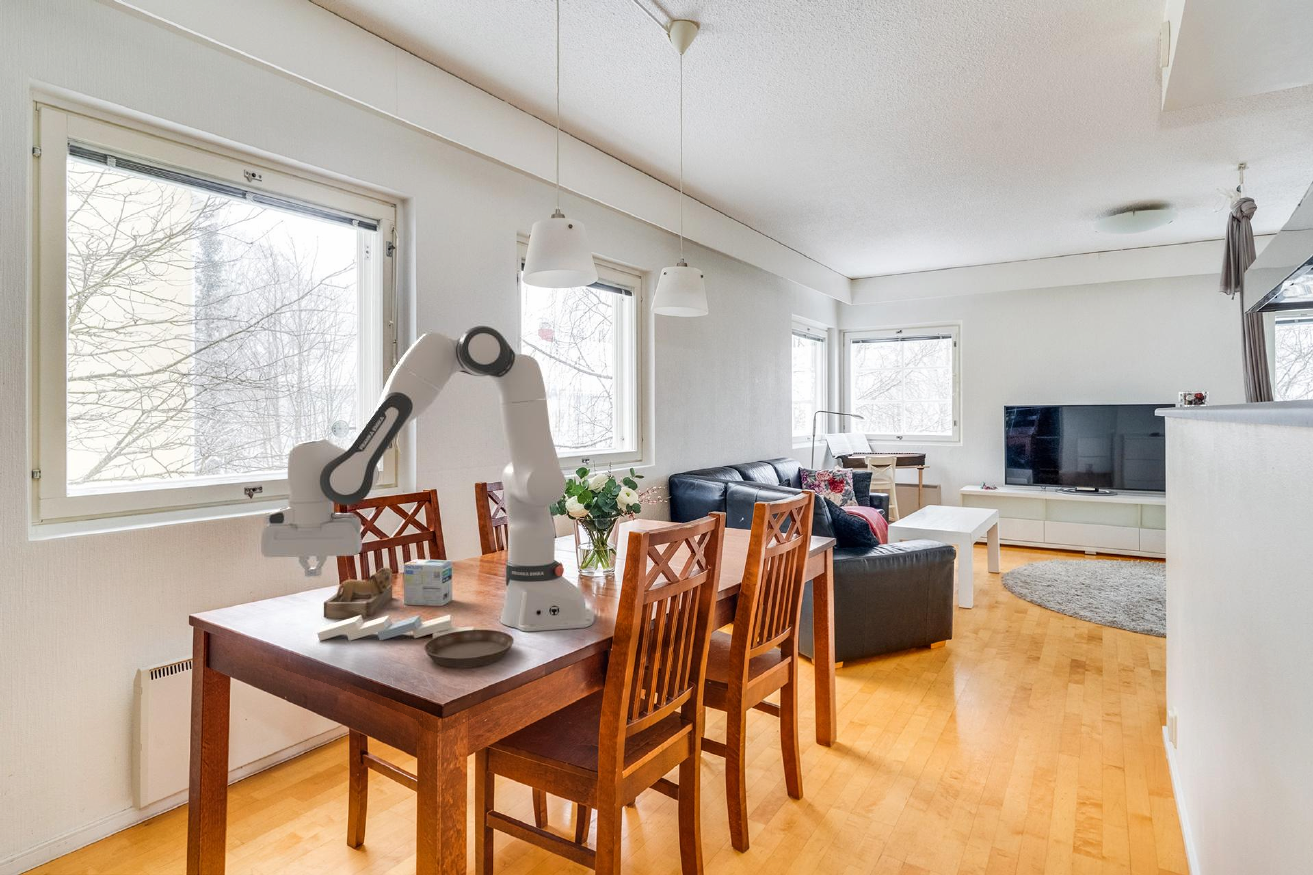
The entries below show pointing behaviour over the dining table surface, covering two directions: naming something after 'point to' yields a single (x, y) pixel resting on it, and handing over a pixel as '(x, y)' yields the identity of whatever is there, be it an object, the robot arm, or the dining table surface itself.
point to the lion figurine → (367, 584)
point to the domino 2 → (370, 628)
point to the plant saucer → (468, 648)
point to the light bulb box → (428, 582)
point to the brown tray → (356, 605)
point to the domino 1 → (340, 627)
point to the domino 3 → (400, 627)
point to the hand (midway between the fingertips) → (313, 576)
